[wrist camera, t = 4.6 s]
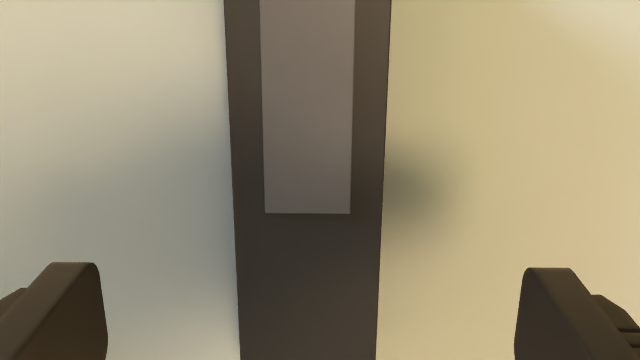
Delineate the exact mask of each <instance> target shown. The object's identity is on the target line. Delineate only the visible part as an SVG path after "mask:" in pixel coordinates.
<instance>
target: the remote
mask: <svg viewBox="0 0 640 360" xmlns="http://www.w3.org/2000/svg"><path fill="white" fill-rule="evenodd" d="M391 1H392V0H224V16H225V38H226V59H227V81H228V102H229V124H230V145H231V167H232V188H233V210H234V231H235V253H236V274H237V296H238V317H239V339H240V360H376V338H377V316H378V293H379V271H380V248H381V226H382V203H383V181H384V158H385V136H386V113H387V91H388V68H389V46H390V23H391Z"/></svg>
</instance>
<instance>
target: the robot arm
mask: <svg viewBox="0 0 640 360" xmlns="http://www.w3.org/2000/svg"><path fill="white" fill-rule="evenodd" d="M107 347H108V333H107V325H106V318H105V311H104V304H103V297H102V289H101V282H100V276H99V271H98V268H97V266H96V265H95V264H94V263H87V262H52V263H50V264H49V265H48V266H47V267H46V268H45V269H44V270H43V271H42V272H41V274H40V275H39V276H38V277H37V278H36V279H35V280H34V281H33V282H32V283H31V285H30V286H29V287H28V288H20V289H18V290H17V291H15V292H13V293H11V294H10V295H8V296H6V297H4V298H3V299H1V300H0V360H105V359H106V354H107ZM514 354H515V360H640V328H639V326H638V325H637V324H636V323H635V322H634V320H633V319H632V318H631V317H630V316H629V314H628V313H627V312H626V311H625V310H624V309H622V308H620V307H619V306H617V305H616V304H614V303H613V302H611V301H610V300H608V299H606V298H605V297H603V296H602V295H591V294H590V293H589V291H588V290H587V289H586V287H585V286H584V285H583V284H582V282H581V281H580V280H579V278H578V277H577V276H576V274H575V273H574V272H573V271H572V270H571V269H570V268H527V269H526V271H525V272H524V275H523V280H522V286H521V294H520V301H519V309H518V316H517V324H516V331H515V340H514Z"/></svg>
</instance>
